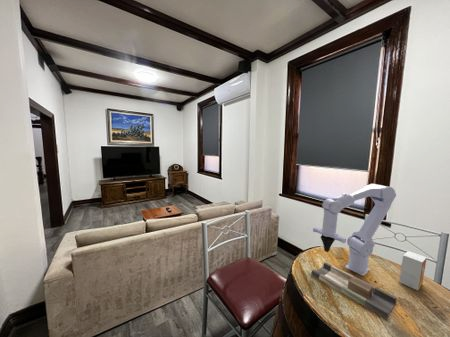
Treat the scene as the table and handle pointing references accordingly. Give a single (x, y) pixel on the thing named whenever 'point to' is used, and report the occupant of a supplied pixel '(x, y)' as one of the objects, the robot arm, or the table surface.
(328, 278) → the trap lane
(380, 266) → the table surface
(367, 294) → the walnut block
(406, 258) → the small box
